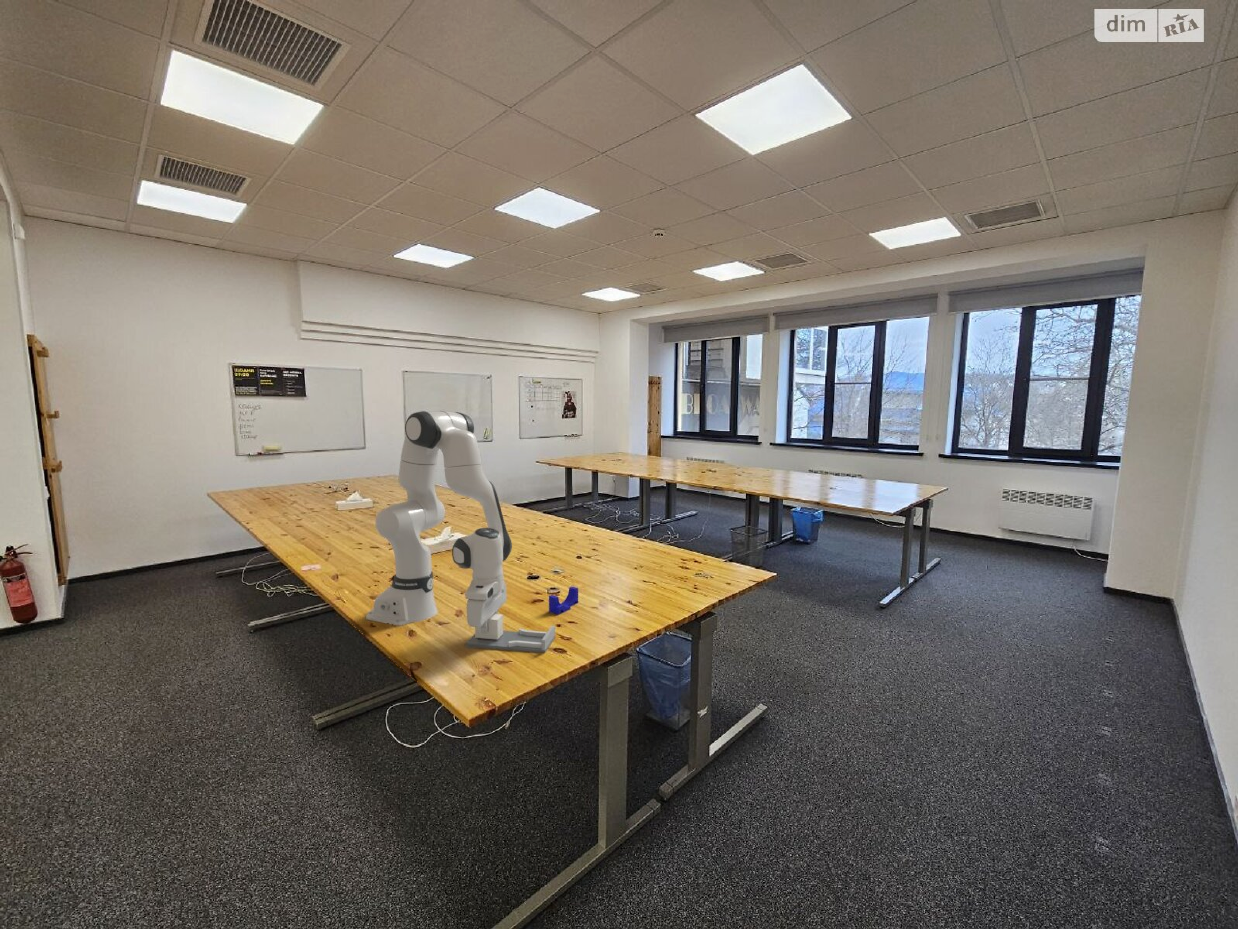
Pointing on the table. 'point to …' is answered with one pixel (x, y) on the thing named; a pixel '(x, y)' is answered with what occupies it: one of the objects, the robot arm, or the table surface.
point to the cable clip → (564, 606)
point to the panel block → (492, 628)
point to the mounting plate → (517, 641)
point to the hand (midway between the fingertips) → (488, 628)
